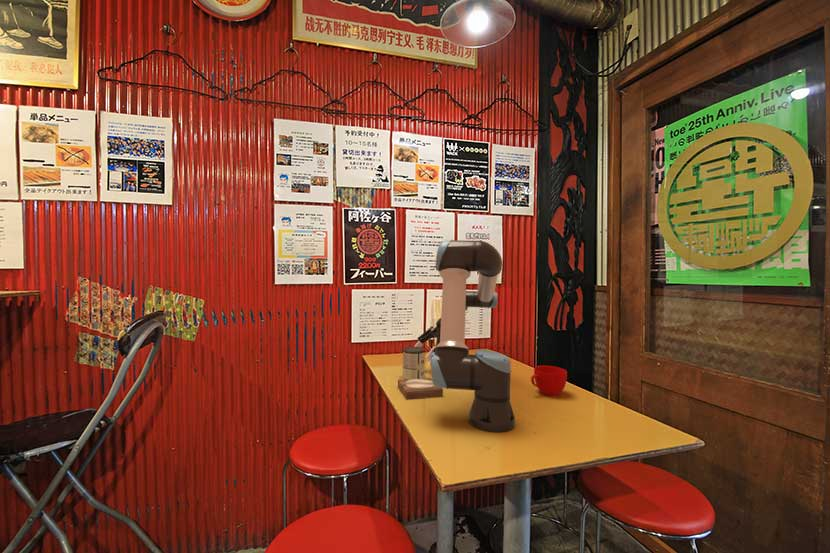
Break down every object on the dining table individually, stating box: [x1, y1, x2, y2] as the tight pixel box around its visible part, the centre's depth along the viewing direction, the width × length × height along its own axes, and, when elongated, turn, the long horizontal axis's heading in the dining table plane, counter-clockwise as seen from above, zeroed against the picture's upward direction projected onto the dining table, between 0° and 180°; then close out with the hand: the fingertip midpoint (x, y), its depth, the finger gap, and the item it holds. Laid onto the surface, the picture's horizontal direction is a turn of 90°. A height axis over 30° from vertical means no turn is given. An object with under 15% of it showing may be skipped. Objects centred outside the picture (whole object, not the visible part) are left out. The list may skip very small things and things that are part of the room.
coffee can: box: [401, 346, 426, 380], centre depth 164 cm, size 10×10×14 cm
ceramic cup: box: [530, 365, 568, 397], centre depth 148 cm, size 13×17×10 cm
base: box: [397, 377, 444, 400], centre depth 147 cm, size 15×15×3 cm
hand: (419, 356), depth 167 cm, fingers open, 13 cm apart
